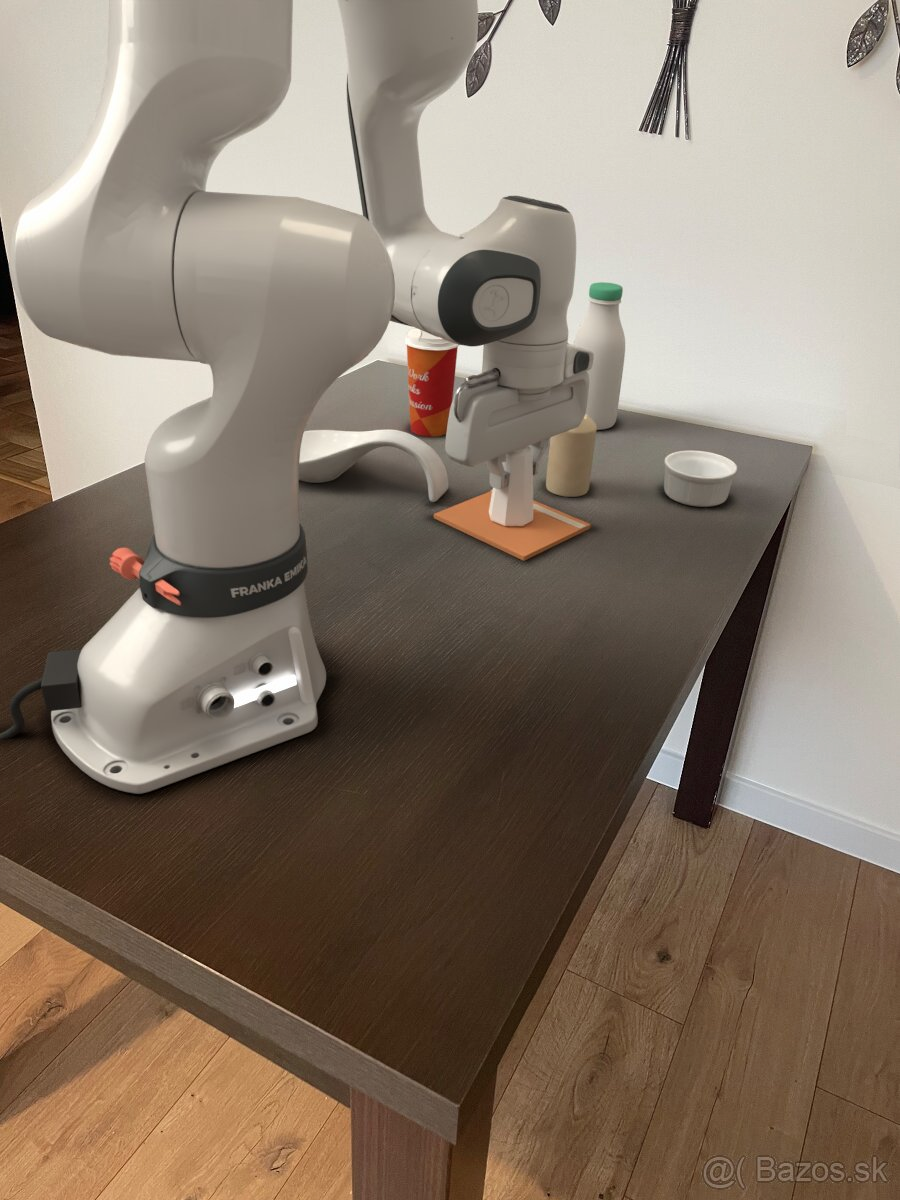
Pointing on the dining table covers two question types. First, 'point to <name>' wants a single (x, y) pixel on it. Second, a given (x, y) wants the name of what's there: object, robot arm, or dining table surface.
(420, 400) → the paper cup
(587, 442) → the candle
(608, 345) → the milk bottle
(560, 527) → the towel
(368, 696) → the dining table surface
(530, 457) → the pepper shaker
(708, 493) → the ramekin
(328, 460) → the spoon rest
